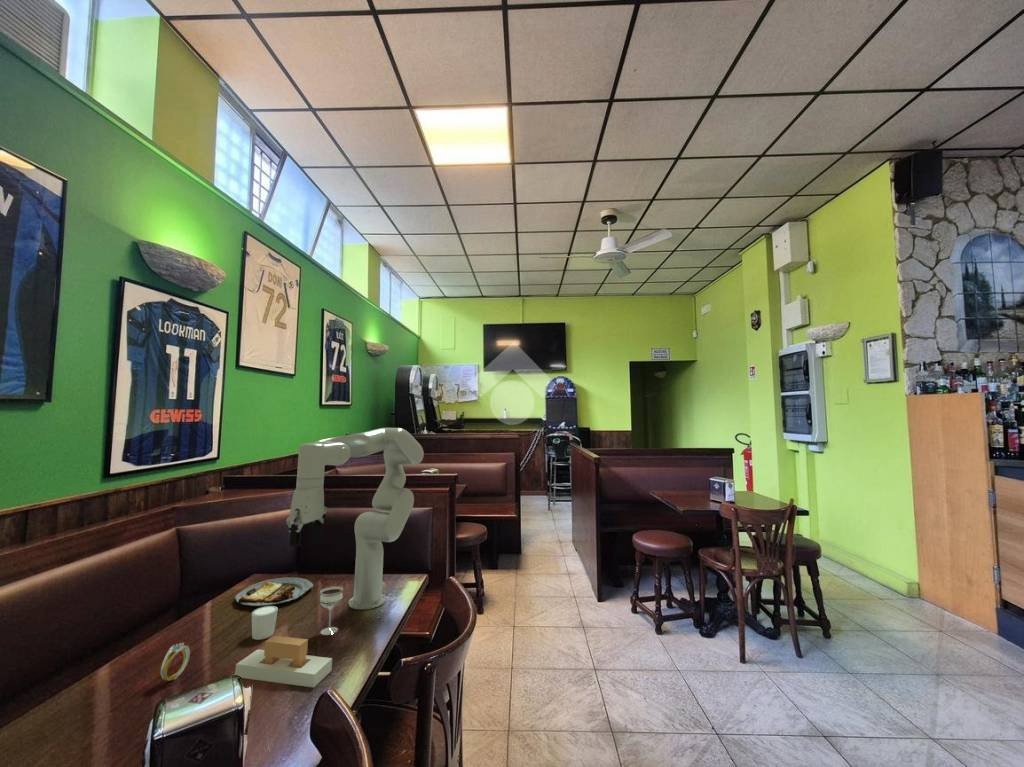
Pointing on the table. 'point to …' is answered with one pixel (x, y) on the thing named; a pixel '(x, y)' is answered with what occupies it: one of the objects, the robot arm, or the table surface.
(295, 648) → the staple clip
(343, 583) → the table surface
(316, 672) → the slotted rail
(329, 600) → the wineglass
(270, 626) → the white tapered cylinder
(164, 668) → the bracelet
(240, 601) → the food plate
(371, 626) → the table surface
